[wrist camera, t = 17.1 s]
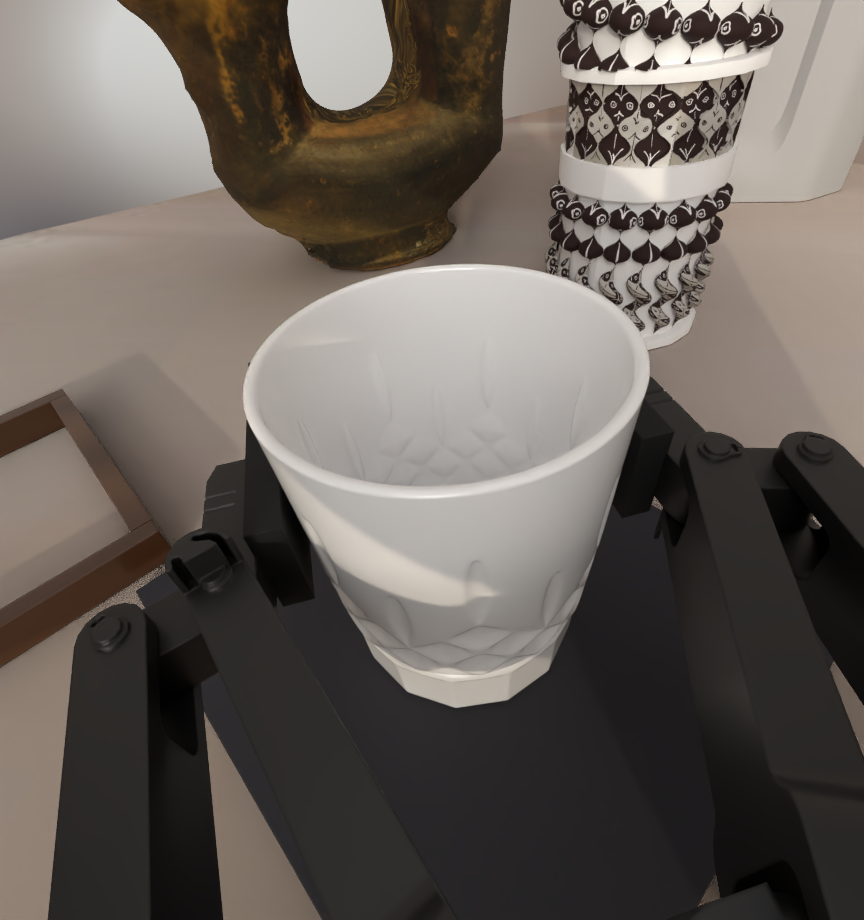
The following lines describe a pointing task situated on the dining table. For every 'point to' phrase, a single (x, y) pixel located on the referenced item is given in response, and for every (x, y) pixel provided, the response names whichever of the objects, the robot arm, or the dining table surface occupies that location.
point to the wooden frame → (101, 572)
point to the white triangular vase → (804, 105)
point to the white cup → (453, 460)
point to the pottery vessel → (344, 122)
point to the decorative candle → (651, 148)
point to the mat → (528, 753)
